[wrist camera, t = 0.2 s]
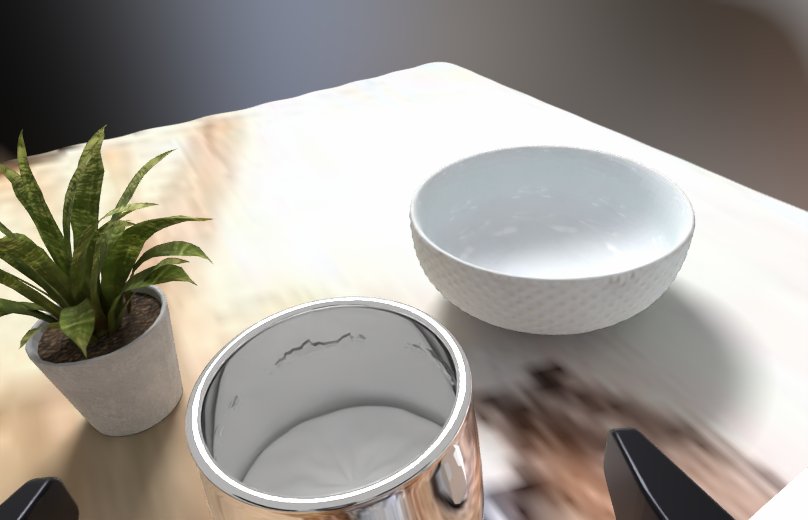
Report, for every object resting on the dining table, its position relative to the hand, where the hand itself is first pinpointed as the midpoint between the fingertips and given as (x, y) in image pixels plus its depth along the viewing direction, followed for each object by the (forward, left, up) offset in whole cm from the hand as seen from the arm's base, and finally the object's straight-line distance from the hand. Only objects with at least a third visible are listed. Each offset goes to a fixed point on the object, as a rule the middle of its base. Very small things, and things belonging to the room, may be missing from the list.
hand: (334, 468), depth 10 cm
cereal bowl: (+26, -10, -17) cm, 32 cm away
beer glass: (+4, +1, -17) cm, 17 cm away
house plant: (+18, +16, -17) cm, 29 cm away
